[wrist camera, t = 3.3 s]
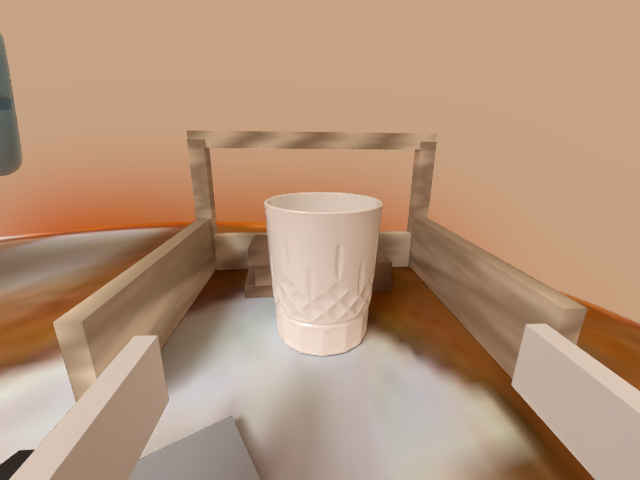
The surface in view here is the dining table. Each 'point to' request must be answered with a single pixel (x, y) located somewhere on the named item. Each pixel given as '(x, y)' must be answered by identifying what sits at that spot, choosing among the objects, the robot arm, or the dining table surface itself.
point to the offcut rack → (231, 248)
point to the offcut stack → (261, 277)
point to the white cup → (322, 267)
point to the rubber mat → (201, 457)
